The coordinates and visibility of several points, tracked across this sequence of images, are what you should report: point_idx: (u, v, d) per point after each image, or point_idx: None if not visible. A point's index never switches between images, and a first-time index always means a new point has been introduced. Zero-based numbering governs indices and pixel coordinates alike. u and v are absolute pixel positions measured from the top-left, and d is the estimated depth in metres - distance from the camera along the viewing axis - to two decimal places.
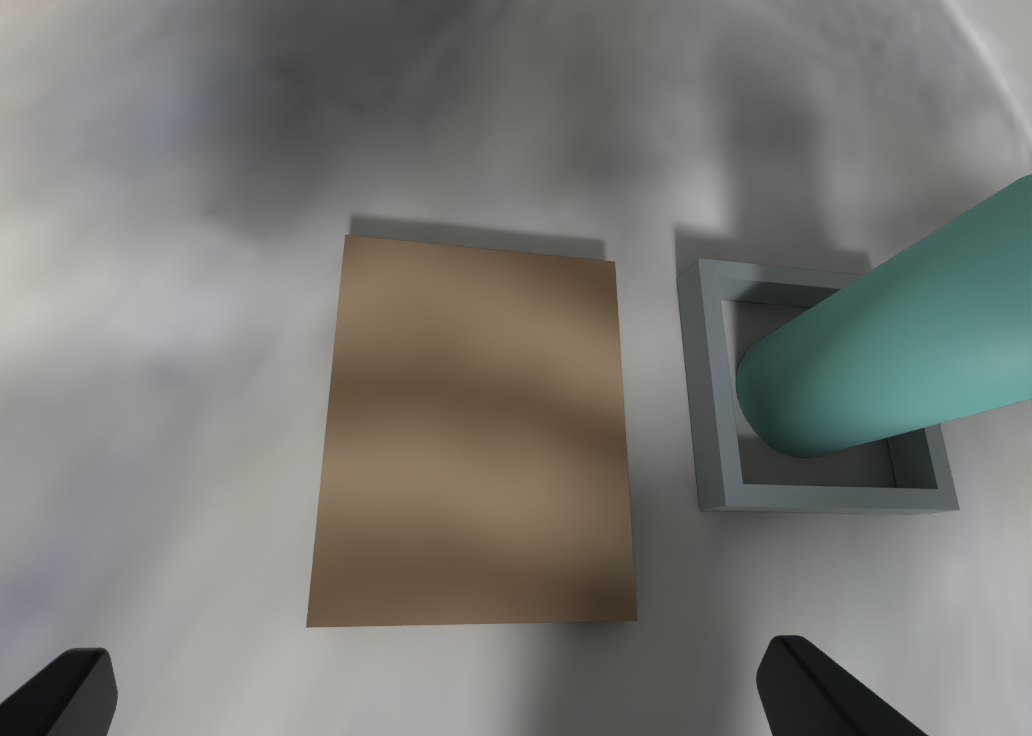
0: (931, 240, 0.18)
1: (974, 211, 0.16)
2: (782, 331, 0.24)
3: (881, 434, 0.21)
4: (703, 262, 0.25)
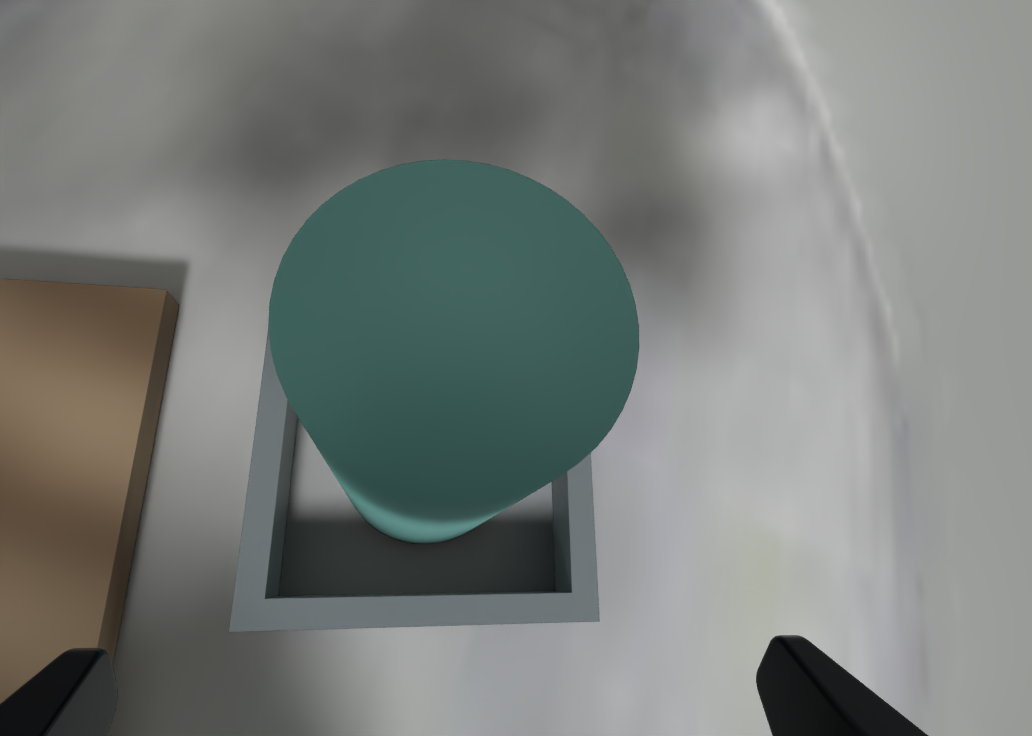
0: None
1: None
2: None
3: (423, 535, 0.15)
4: None
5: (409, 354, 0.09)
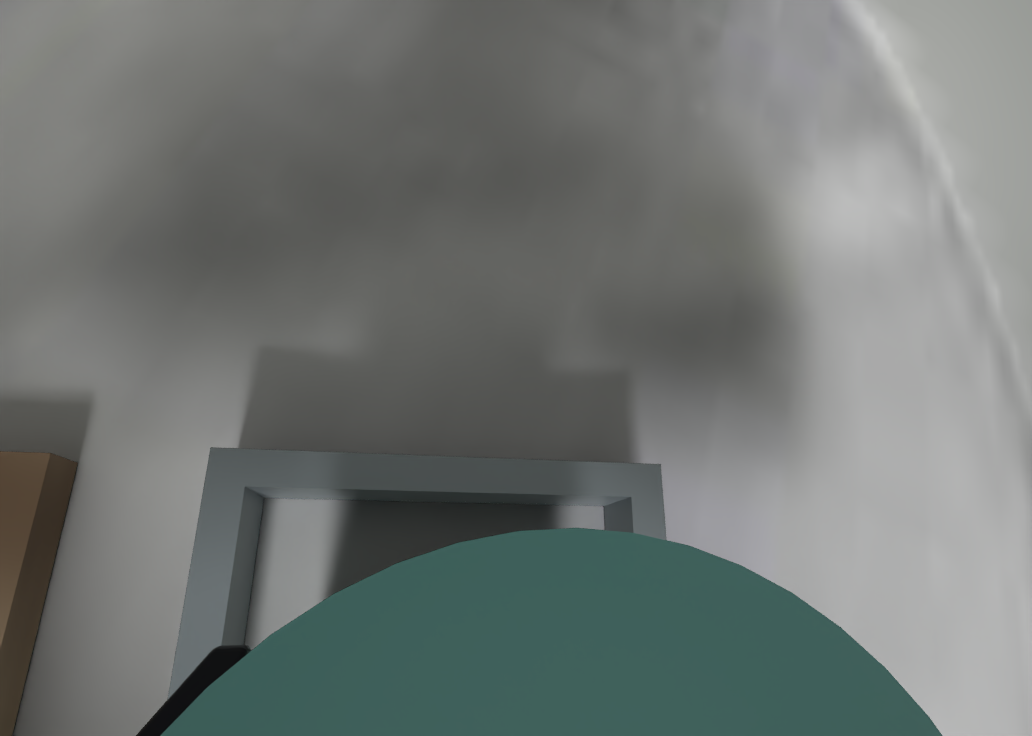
0: None
1: None
2: None
3: None
4: (219, 456, 0.13)
5: None
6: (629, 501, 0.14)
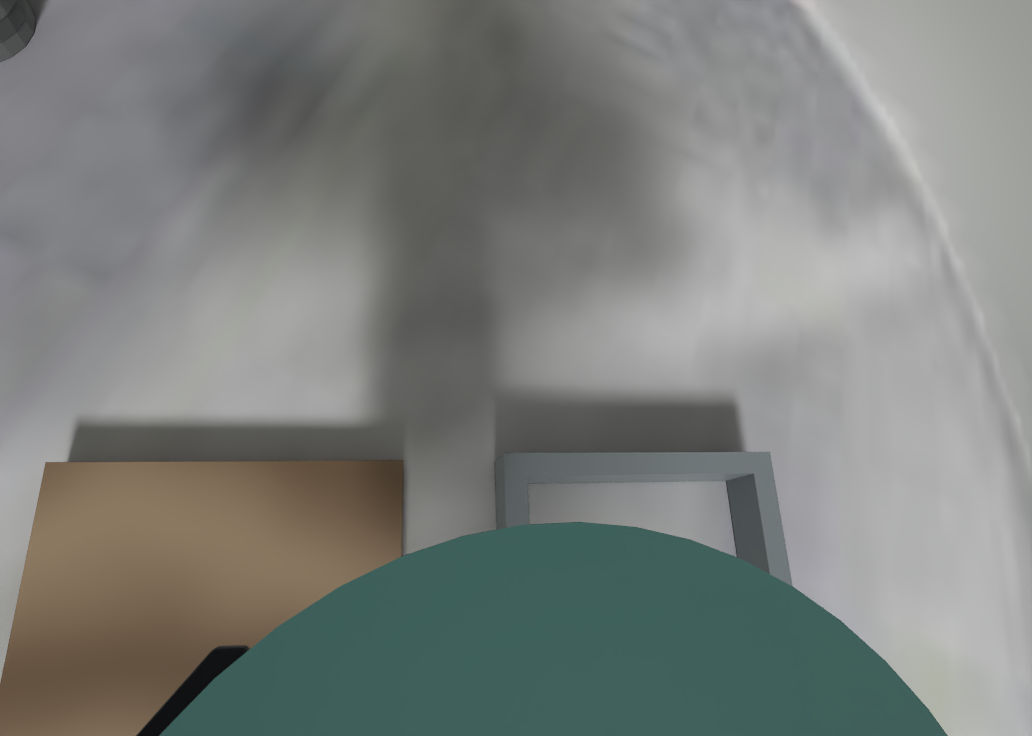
0: None
1: None
2: None
3: None
4: (509, 457, 0.21)
5: None
6: (752, 476, 0.22)
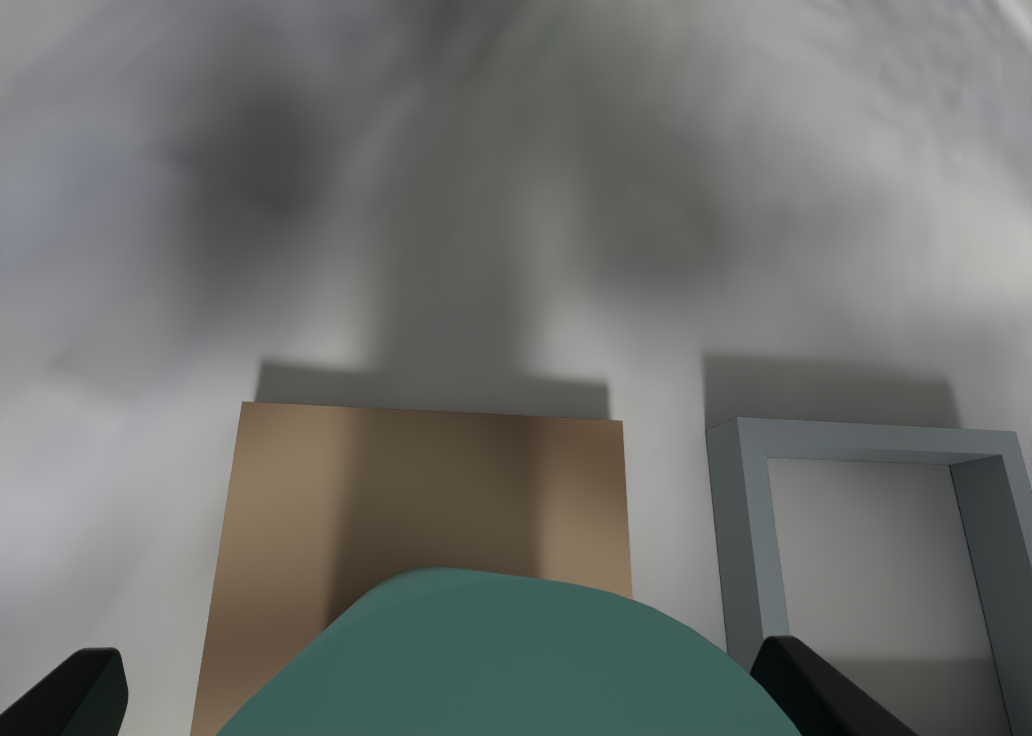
0: None
1: None
2: None
3: None
4: (743, 422, 0.18)
5: None
6: (998, 458, 0.20)
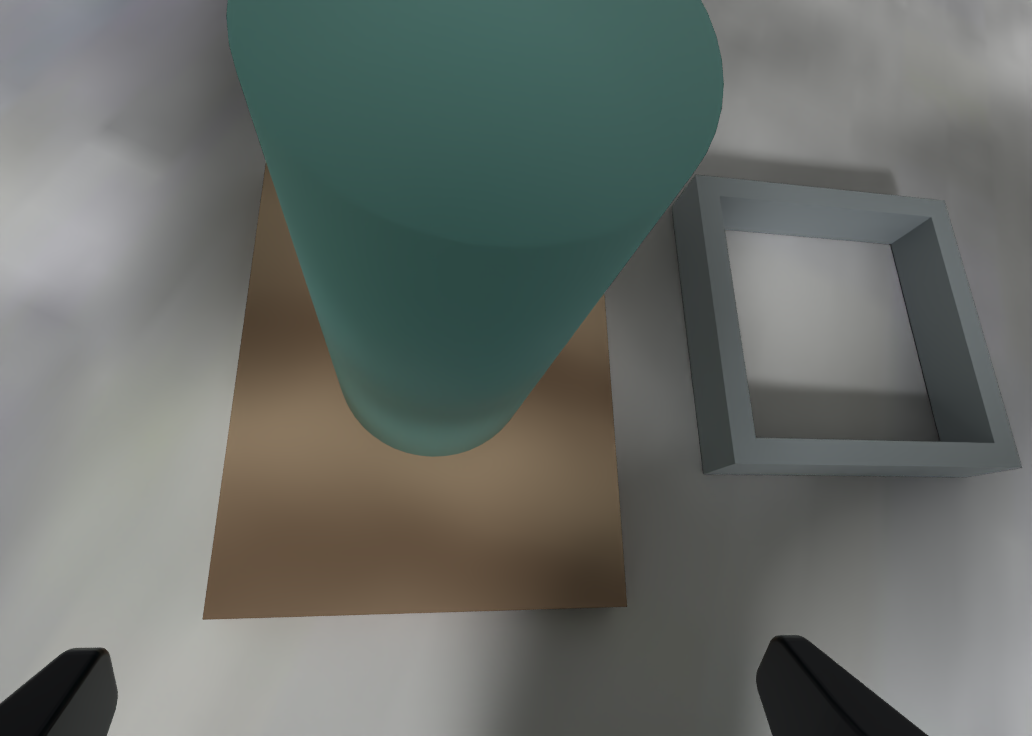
0: None
1: None
2: None
3: (433, 419, 0.13)
4: (701, 179, 0.21)
5: (421, 65, 0.06)
6: (928, 221, 0.23)
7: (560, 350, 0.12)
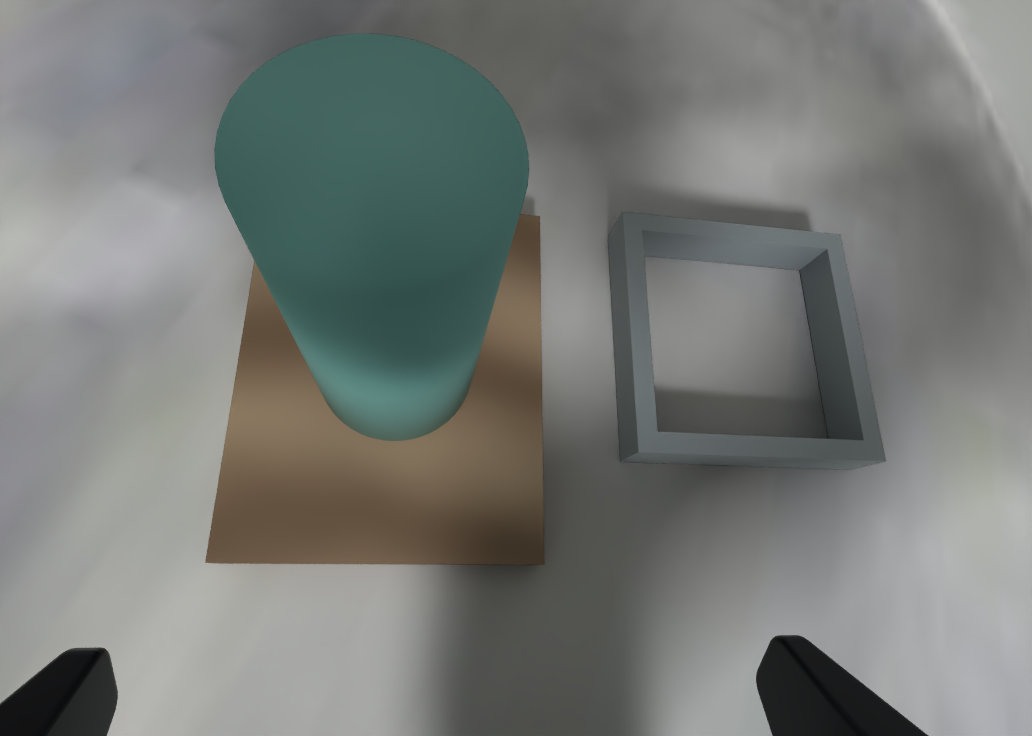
0: None
1: None
2: None
3: (376, 406, 0.17)
4: (627, 215, 0.25)
5: (330, 177, 0.11)
6: (825, 252, 0.27)
7: (465, 355, 0.16)
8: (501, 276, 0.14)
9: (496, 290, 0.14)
